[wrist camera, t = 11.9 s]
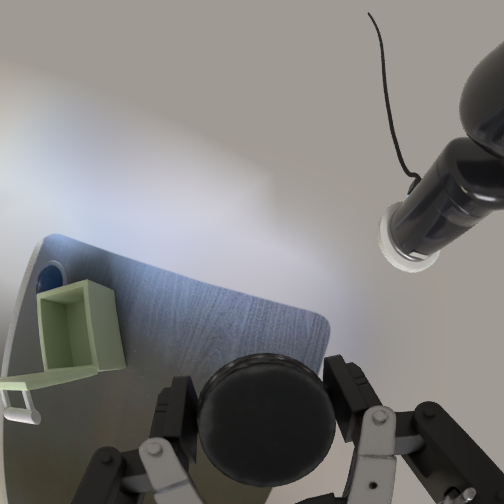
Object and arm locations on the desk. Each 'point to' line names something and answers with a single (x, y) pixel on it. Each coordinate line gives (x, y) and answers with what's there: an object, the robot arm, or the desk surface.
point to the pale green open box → (79, 328)
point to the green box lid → (35, 382)
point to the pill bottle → (265, 420)
